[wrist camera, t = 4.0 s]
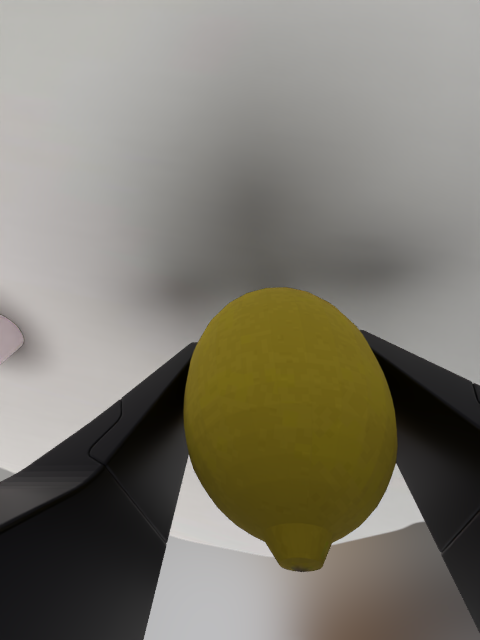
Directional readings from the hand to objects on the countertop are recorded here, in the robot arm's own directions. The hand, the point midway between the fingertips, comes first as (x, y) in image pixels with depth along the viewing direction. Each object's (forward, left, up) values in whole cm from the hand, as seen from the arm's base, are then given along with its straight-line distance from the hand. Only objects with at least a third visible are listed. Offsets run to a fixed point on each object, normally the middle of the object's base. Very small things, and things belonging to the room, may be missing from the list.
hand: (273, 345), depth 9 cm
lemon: (0, 0, -2) cm, 2 cm away
